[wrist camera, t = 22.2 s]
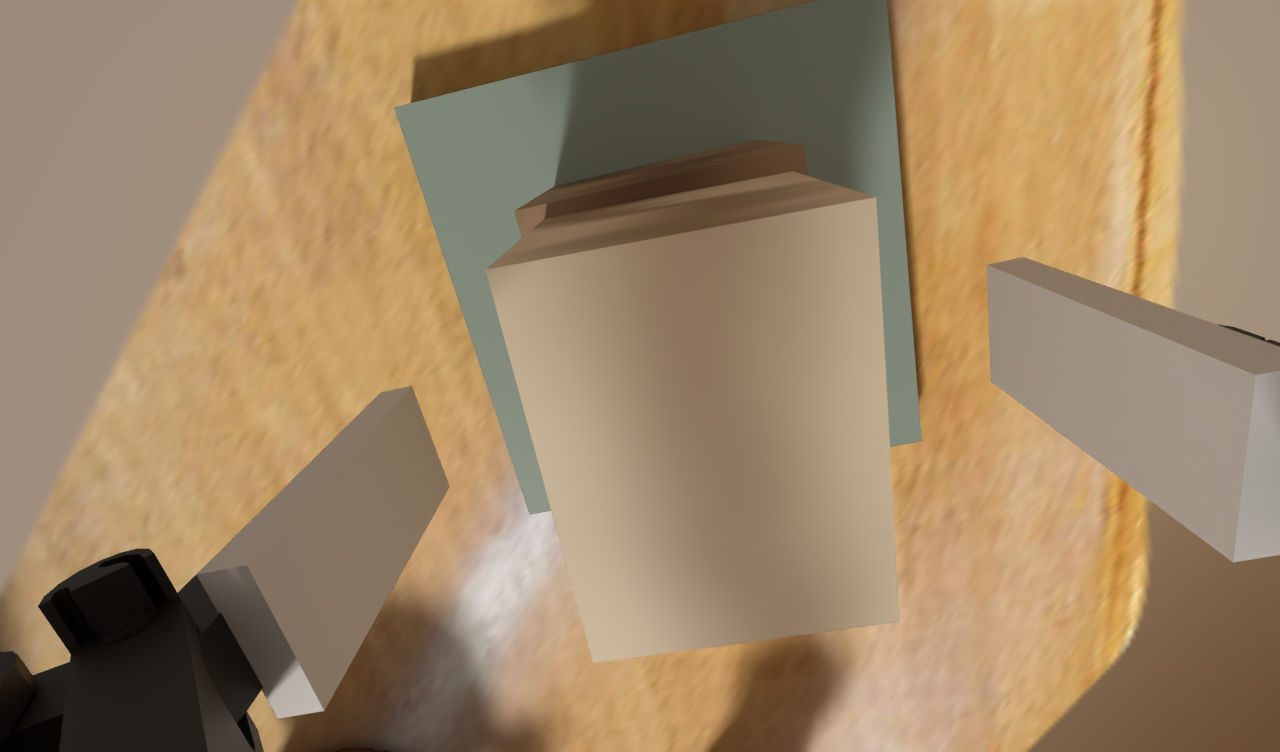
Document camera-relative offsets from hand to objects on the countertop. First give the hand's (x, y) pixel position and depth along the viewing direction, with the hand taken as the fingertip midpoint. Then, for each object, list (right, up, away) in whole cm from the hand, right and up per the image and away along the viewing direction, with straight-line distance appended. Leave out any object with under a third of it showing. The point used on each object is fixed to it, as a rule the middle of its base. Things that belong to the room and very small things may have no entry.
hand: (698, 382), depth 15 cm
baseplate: (0, +4, +10) cm, 11 cm away
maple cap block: (0, +1, +2) cm, 2 cm away
